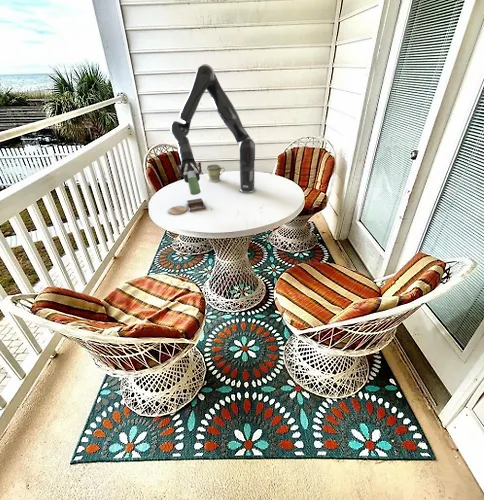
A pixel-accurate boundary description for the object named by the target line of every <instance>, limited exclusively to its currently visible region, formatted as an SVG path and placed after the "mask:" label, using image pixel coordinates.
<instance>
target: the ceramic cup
mask: <svg viewBox="0 0 484 500" xmlns="http://www.w3.org/2000/svg"><path fill="white" fill-rule="evenodd" d="M222 169H223V171H222V172H221V170H222ZM206 171H207V175H208V178H209V181H210V182H211V183H217V182H220V177H221V175H222V174H223V173H224V172H225V171H226V168H225V167H222V166H221V165H220V164H209V165H207V166H206Z"/></svg>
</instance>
